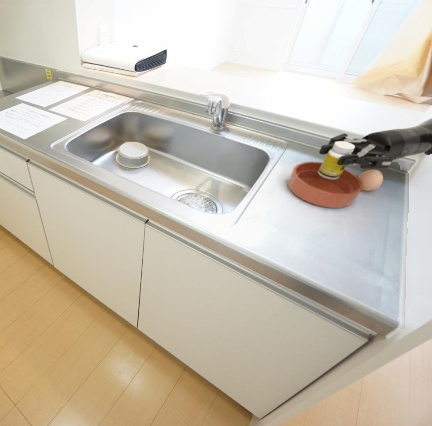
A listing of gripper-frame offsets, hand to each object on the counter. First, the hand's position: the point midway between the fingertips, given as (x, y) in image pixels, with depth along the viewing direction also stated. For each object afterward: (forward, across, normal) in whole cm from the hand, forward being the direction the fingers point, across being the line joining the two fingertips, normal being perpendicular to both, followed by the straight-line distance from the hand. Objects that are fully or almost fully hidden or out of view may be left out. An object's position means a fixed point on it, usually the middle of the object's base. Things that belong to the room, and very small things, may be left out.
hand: (330, 155), depth 67 cm
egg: (-14, +2, +12) cm, 19 cm away
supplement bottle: (-3, 0, +6) cm, 7 cm away
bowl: (-3, 0, +11) cm, 11 cm away
